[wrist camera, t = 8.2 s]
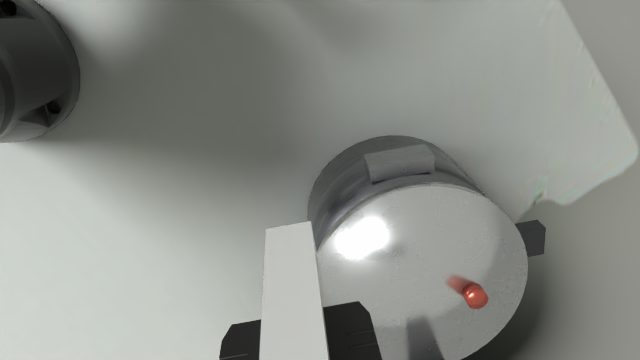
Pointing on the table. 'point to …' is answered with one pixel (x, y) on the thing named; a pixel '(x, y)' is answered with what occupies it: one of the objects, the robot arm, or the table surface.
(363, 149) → the pot
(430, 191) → the lid
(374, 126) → the table surface
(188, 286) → the table surface
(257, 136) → the table surface
